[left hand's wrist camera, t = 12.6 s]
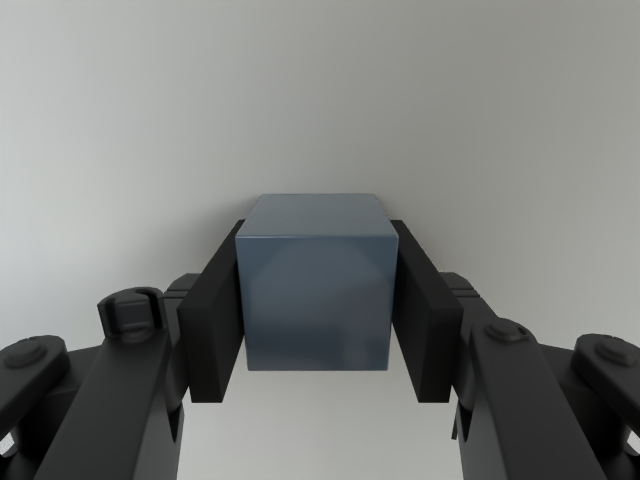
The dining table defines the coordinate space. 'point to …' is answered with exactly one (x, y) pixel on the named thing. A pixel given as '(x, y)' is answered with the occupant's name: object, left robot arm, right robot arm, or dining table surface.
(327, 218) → the block
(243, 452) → the dining table surface
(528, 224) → the dining table surface
